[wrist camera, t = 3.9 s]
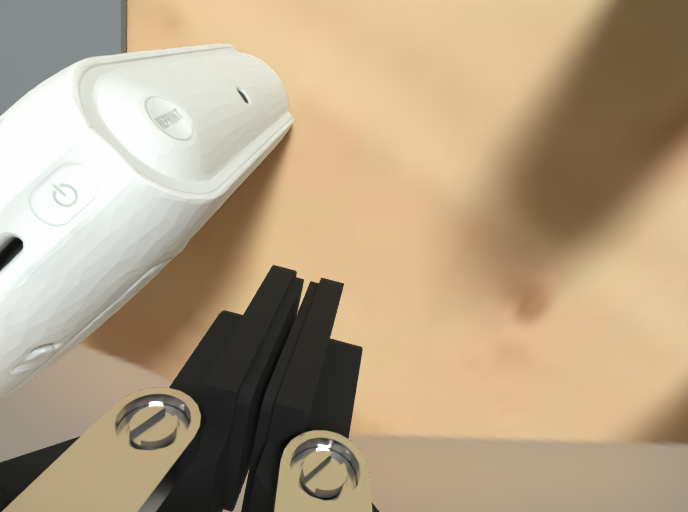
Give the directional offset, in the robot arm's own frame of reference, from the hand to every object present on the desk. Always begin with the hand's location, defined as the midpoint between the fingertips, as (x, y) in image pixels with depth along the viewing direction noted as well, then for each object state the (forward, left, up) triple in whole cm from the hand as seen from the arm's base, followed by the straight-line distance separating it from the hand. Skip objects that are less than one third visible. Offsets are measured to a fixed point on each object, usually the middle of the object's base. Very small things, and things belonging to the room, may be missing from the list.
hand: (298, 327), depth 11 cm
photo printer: (+7, 0, -10) cm, 12 cm away
